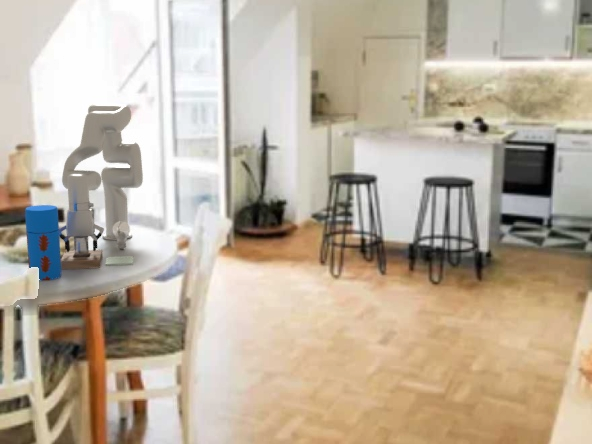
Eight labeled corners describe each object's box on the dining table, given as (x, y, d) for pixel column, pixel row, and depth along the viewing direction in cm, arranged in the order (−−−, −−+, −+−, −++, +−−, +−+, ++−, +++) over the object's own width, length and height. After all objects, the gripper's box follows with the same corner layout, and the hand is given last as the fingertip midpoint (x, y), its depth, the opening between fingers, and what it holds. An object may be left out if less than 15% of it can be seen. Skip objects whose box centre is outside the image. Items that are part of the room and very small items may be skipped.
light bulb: (126, 252, 296) (125, 223, 293) (110, 251, 297) (109, 222, 295) (133, 248, 303) (132, 219, 300) (117, 247, 304) (116, 218, 301)
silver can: (75, 261, 281) (74, 233, 279) (89, 261, 282) (88, 233, 280) (74, 265, 276) (72, 236, 274) (88, 264, 277) (87, 236, 275)
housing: (65, 258, 285) (65, 250, 285) (102, 257, 288) (102, 249, 287) (60, 269, 270) (60, 261, 269) (99, 267, 273) (99, 260, 272)
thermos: (30, 282, 254) (25, 211, 249) (28, 274, 263) (23, 206, 258) (63, 278, 258) (59, 209, 253) (59, 271, 268) (55, 204, 262)
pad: (107, 258, 286) (107, 257, 285) (133, 257, 287) (133, 256, 287) (105, 265, 276) (105, 263, 276) (132, 264, 278) (132, 262, 278)
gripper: (103, 204, 280) (105, 247, 283) (56, 205, 277) (59, 249, 280) (102, 207, 272) (104, 252, 276) (53, 209, 269) (56, 254, 273)
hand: (81, 250), depth 278 cm, fingers open, 9 cm apart
